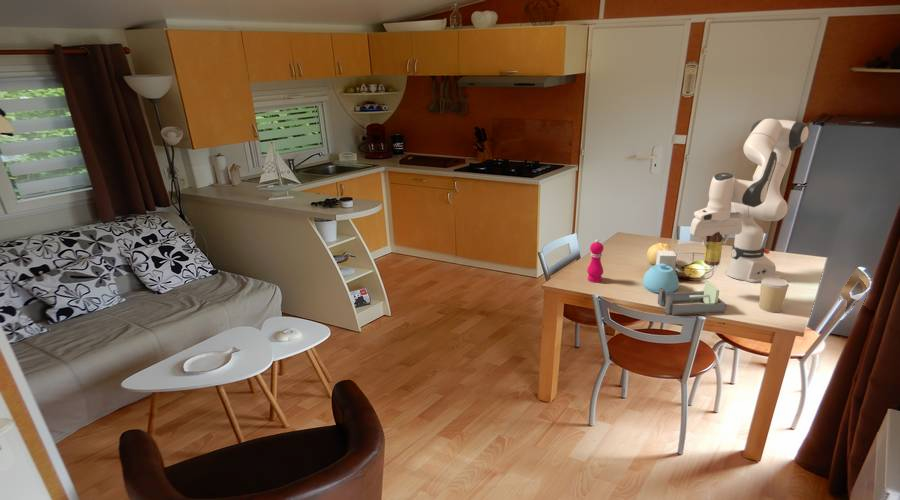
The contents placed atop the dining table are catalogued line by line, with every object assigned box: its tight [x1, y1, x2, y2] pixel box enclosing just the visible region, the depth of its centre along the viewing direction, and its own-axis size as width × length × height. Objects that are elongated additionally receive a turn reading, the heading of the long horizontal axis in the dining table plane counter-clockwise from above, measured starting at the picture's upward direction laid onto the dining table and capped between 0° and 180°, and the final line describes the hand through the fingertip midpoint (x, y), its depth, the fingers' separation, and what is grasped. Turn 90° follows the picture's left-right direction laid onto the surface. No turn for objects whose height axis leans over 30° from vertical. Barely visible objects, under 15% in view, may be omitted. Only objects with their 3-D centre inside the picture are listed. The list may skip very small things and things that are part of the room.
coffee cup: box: [758, 277, 790, 314], centre depth 207 cm, size 9×9×12 cm
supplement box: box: [656, 250, 677, 272], centre depth 239 cm, size 7×7×13 cm
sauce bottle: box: [703, 232, 724, 267], centre depth 216 cm, size 6×6×20 cm
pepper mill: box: [586, 239, 605, 283], centre depth 239 cm, size 7×7×20 cm
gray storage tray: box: [657, 288, 727, 316], centre depth 211 cm, size 22×12×7 cm, turn 91°
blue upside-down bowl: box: [642, 263, 680, 294], centre depth 229 cm, size 15×15×12 cm
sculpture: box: [646, 242, 673, 266], centre depth 256 cm, size 12×12×11 cm
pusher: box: [689, 280, 721, 304], centre depth 211 cm, size 9×9×9 cm
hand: (713, 244), depth 216 cm, fingers closed on sauce bottle, 6 cm apart
